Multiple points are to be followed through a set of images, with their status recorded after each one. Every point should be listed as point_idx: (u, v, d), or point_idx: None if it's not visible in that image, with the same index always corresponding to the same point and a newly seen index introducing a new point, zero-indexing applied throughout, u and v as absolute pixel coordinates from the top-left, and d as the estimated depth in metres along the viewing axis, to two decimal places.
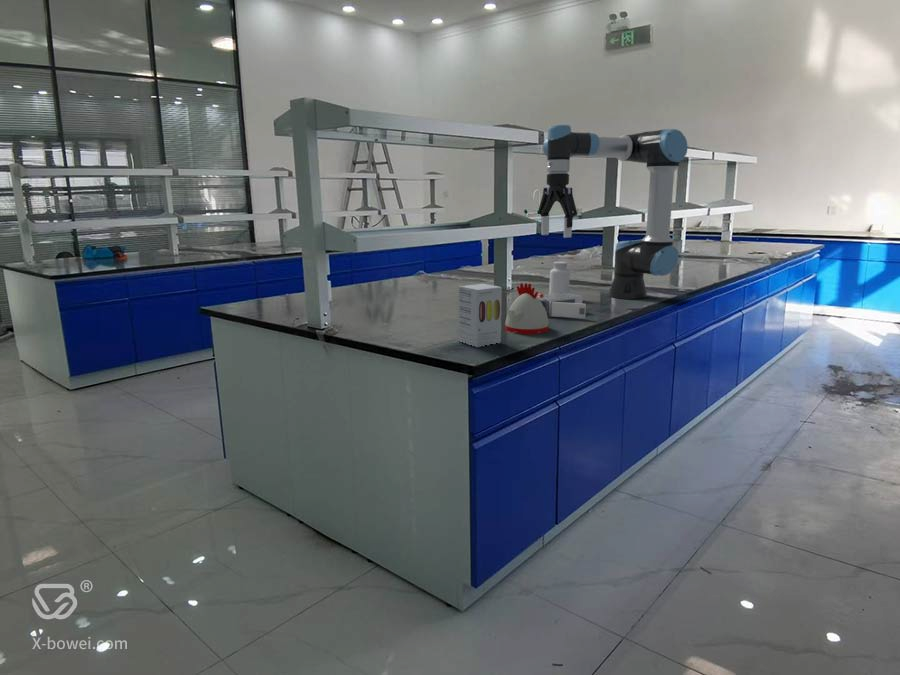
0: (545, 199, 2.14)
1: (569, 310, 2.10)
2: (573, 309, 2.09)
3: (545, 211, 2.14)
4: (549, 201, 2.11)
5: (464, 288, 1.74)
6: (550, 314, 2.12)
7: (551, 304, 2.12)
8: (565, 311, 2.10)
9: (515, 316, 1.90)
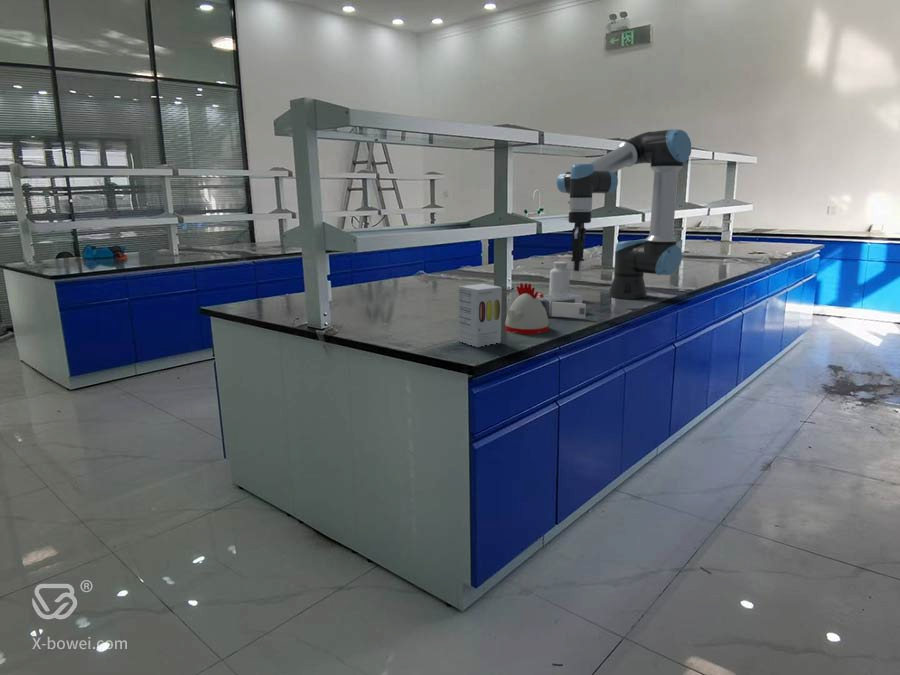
0: None
1: (569, 310, 2.10)
2: (573, 309, 2.09)
3: None
4: None
5: (464, 288, 1.74)
6: (550, 314, 2.12)
7: (551, 304, 2.12)
8: (565, 311, 2.10)
9: (515, 316, 1.90)
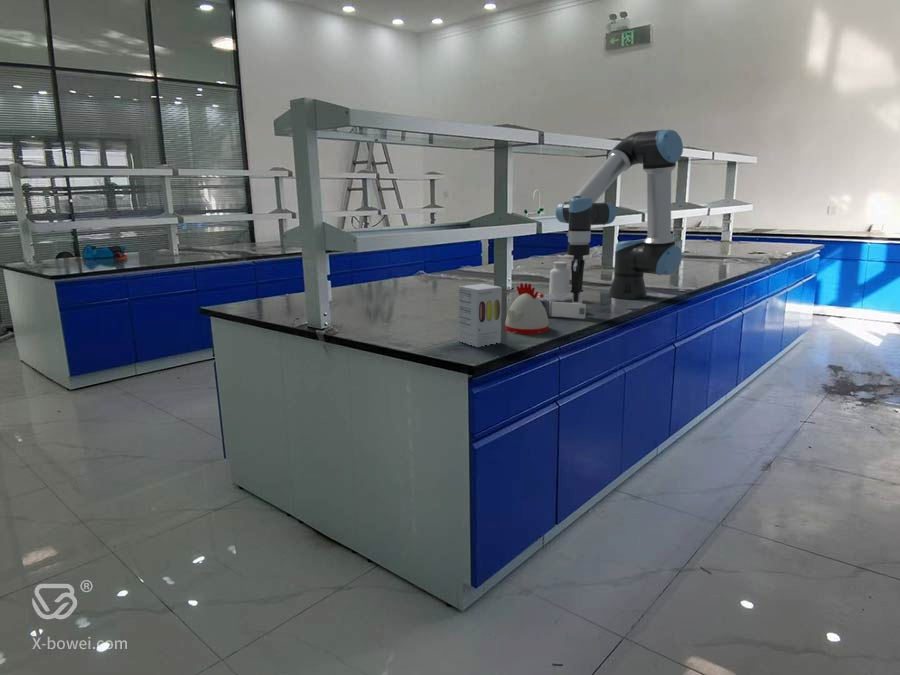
0: None
1: (569, 310, 2.10)
2: (573, 309, 2.09)
3: None
4: None
5: (464, 288, 1.74)
6: (550, 314, 2.12)
7: (551, 304, 2.12)
8: (565, 311, 2.10)
9: (515, 316, 1.90)
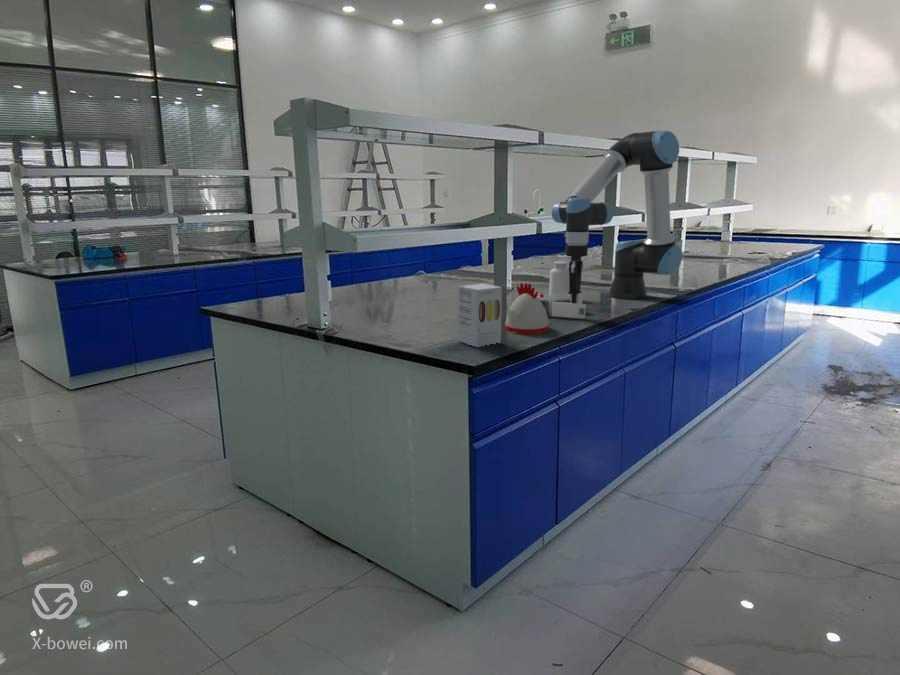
0: None
1: (569, 310, 2.10)
2: (573, 309, 2.09)
3: None
4: None
5: (464, 288, 1.74)
6: (550, 314, 2.12)
7: (551, 304, 2.12)
8: (565, 311, 2.10)
9: (515, 316, 1.90)
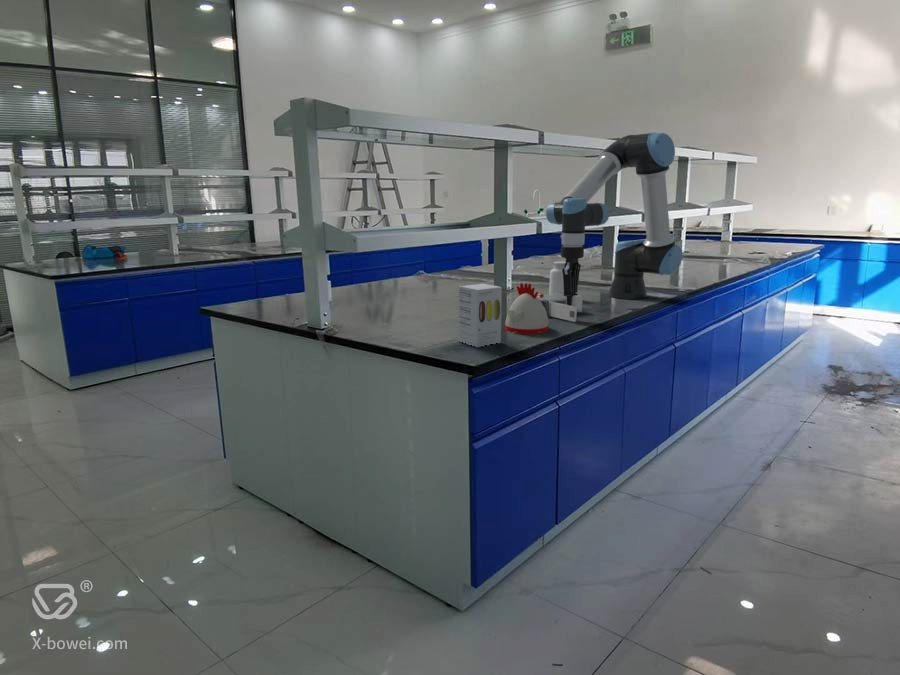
0: None
1: (563, 312, 2.07)
2: (566, 311, 2.06)
3: None
4: None
5: (464, 288, 1.74)
6: (549, 314, 2.13)
7: (550, 304, 2.12)
8: (560, 312, 2.08)
9: (515, 316, 1.90)
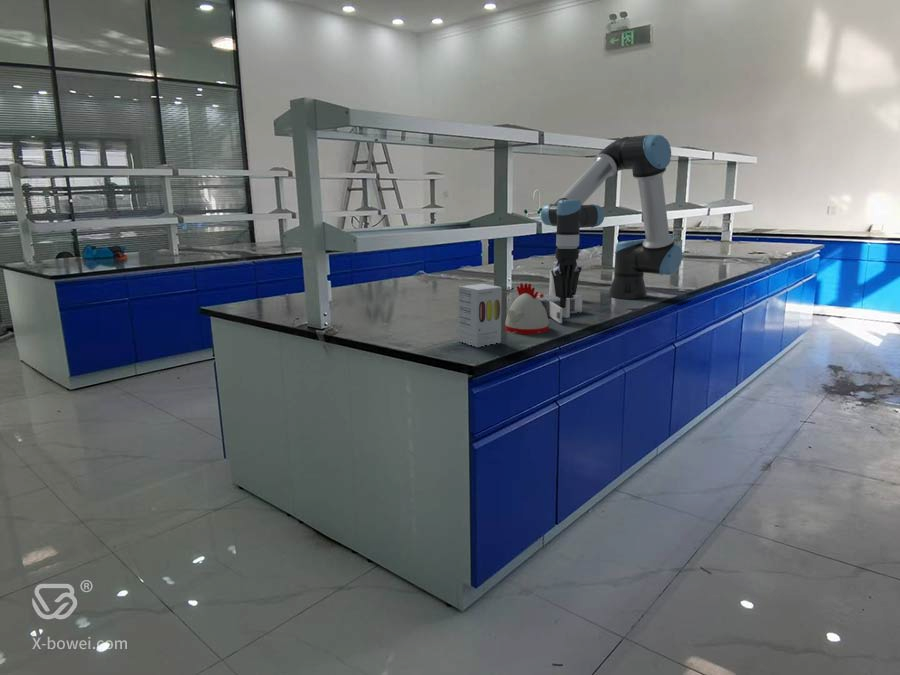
0: (572, 277, 2.06)
1: (555, 312, 2.06)
2: (556, 312, 2.05)
3: None
4: None
5: (464, 288, 1.74)
6: (549, 314, 2.13)
7: (549, 304, 2.12)
8: (553, 313, 2.07)
9: (515, 316, 1.90)
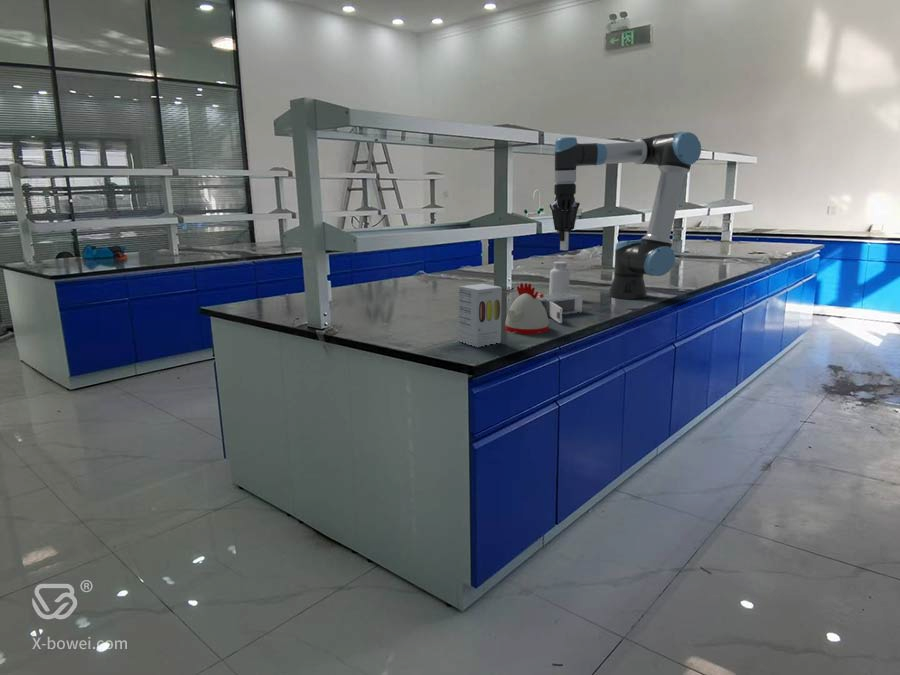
0: (571, 212, 2.20)
1: (555, 312, 2.06)
2: (556, 312, 2.05)
3: None
4: None
5: (464, 288, 1.74)
6: (549, 314, 2.13)
7: (549, 304, 2.12)
8: (553, 313, 2.07)
9: (515, 316, 1.90)
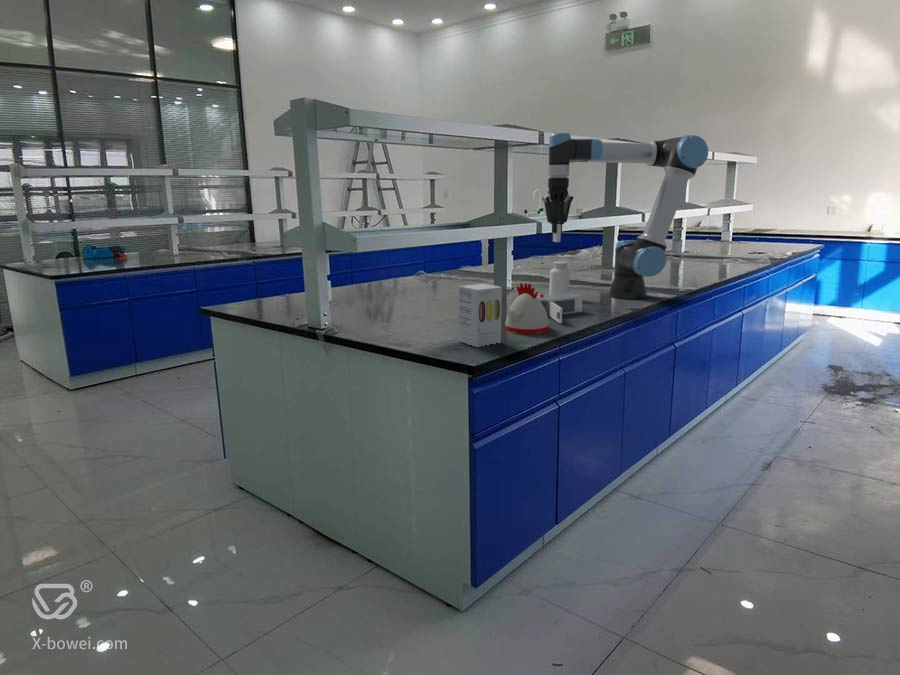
0: (565, 205, 2.28)
1: (555, 312, 2.06)
2: (556, 312, 2.05)
3: (557, 217, 2.27)
4: None
5: (464, 288, 1.74)
6: (549, 314, 2.13)
7: (549, 304, 2.12)
8: (553, 313, 2.07)
9: (515, 316, 1.90)
